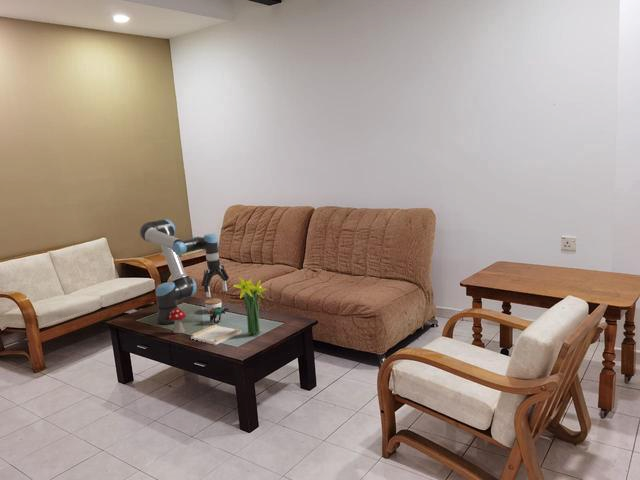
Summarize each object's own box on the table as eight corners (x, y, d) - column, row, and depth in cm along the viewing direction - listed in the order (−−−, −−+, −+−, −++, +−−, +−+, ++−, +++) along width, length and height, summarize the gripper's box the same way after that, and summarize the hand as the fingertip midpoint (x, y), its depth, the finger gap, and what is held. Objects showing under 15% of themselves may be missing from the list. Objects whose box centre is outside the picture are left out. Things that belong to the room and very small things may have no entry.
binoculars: (225, 325, 307) (223, 309, 305) (208, 325, 309) (207, 309, 308) (230, 320, 316) (229, 304, 314) (214, 320, 318) (213, 304, 316)
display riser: (190, 339, 287) (190, 334, 286) (217, 328, 303) (216, 323, 302) (215, 344, 275) (215, 340, 275) (241, 332, 291) (240, 328, 291)
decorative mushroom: (190, 330, 302) (187, 306, 299) (183, 335, 294) (180, 310, 291) (174, 330, 304) (171, 306, 301) (167, 335, 295) (164, 311, 293)
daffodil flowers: (258, 327, 298) (252, 269, 293) (274, 332, 288) (269, 272, 282) (235, 336, 287) (228, 275, 281) (251, 341, 276) (245, 279, 271)
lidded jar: (210, 309, 342) (208, 296, 340) (224, 309, 339) (223, 295, 338) (203, 314, 331) (201, 300, 330) (218, 314, 329) (217, 300, 327)
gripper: (201, 264, 294) (205, 300, 297) (232, 255, 314) (235, 289, 317) (192, 263, 298) (197, 298, 302) (223, 255, 318) (227, 288, 321)
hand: (217, 293), depth 309 cm, fingers open, 13 cm apart
